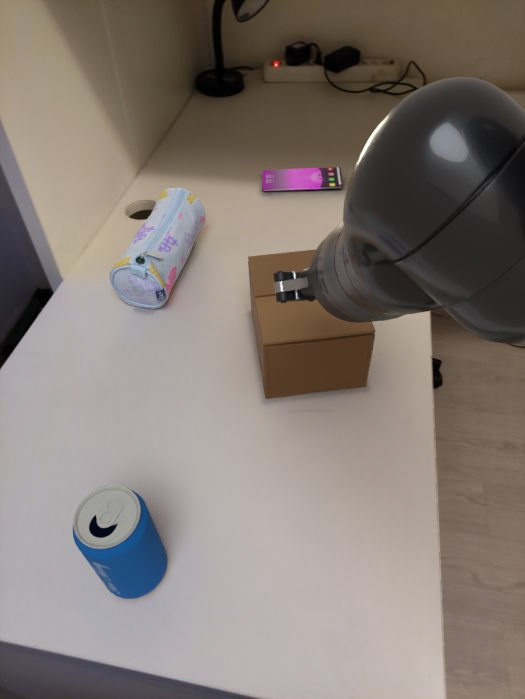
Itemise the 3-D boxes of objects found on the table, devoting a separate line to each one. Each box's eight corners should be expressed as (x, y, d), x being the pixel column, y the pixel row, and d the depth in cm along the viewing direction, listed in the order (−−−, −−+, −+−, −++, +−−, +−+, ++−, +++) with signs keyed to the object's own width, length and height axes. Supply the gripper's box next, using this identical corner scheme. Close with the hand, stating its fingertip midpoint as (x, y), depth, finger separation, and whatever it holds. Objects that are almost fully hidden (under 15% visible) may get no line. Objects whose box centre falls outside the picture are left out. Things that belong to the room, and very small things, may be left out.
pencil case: (168, 318, 78) (156, 267, 71) (113, 310, 80) (96, 259, 73) (211, 234, 92) (204, 184, 85) (163, 228, 93) (153, 179, 86)
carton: (366, 386, 69) (376, 330, 61) (265, 399, 68) (262, 343, 60) (338, 302, 79) (344, 245, 72) (251, 312, 79) (247, 256, 71)
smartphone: (342, 190, 99) (343, 186, 99) (262, 192, 100) (261, 188, 99) (340, 170, 104) (340, 166, 103) (262, 172, 105) (262, 167, 104)
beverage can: (91, 586, 53) (52, 536, 44) (125, 527, 57) (95, 471, 48) (148, 611, 51) (119, 565, 42) (179, 549, 55) (159, 494, 46)
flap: (375, 332, 61) (375, 330, 61) (263, 345, 61) (263, 343, 60) (358, 288, 67) (358, 286, 66) (255, 300, 66) (255, 297, 66)
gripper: (458, 203, 38) (387, 244, 55) (271, 223, 37) (259, 258, 54) (469, 310, 38) (395, 317, 55) (284, 332, 37) (267, 332, 54)
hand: (327, 288), depth 55 cm, fingers closed
